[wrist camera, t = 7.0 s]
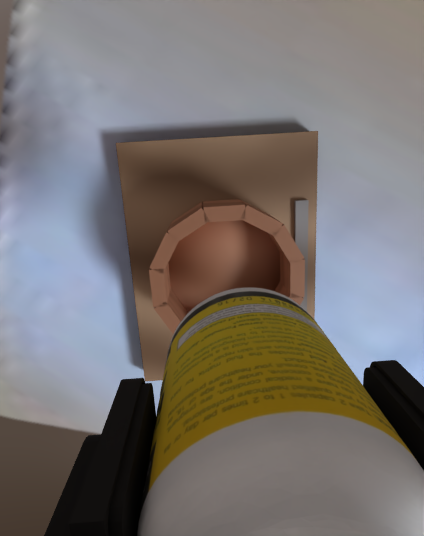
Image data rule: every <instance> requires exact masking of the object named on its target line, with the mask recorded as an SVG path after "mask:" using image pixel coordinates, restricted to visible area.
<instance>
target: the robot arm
mask: <svg viewBox="0 0 424 536" xmlns="http://www.w3.org/2000/svg"><path fill="white" fill-rule="evenodd" d="M363 387H364V388H365V390H366V391H367V392H368V394H369V395H370V397H371V398H372V399H373V401H374V402H375V403H376V405H377V406H378V407H379V409H380V410H381V412H382V413H383V415H384V416H385V417H386V419H387V420H388V421H389V423H390V424H391V425H392V427H393V428H394V430H395V431H396V432H397V434H398V435H399V437H400V438H401V439H402V441H403V442H404V443H405V445H406V446H407V447H408V449H409V450H410V451H411V453H412V454H413V456H414V457H415V459H416V460H417V462H418V463H419V465H420V466H421V467H422V469H423V470H424V387H423V386H422V385H421V384H420V383H419V382H418V381H417V380H416V379H415V378H414V377H413V376H412V375H411V374H410V373H409V372H408V371H407V370H406V369H405V368H404V367H403V366H402V365H401V364H399V363H398V362H397V361H396V360H390V361H375V362H372V363H371V365H370V368H366V369H365V370H364V381H363ZM155 423H156V411H155V403H154V394H153V386H152V383H146V384H145V381H144V378H136V379H123V380H121V382H120V385H119V388H118V390H117V393H116V396H115V398H114V401H113V404H112V407H111V409H110V412H109V415H108V418H107V420H106V423H105V426H104V428H103V431H102V434H101V435H89V436H88V437H86V439H85V441H84V442H83V445H82V447H81V450H80V452H79V454H78V457H77V459H76V461H75V464H74V466H73V469H72V471H71V473H70V476H69V478H68V480H67V483H66V485H65V488H64V490H63V492H62V495H61V497H60V499H59V502H58V504H57V507H56V509H55V511H54V514H53V516H52V518H51V521H50V523H49V526H48V528H47V530H46V533H45V535H44V536H137V530H138V522H139V516H140V507H141V501H142V496H143V491H144V486H145V482H146V475H147V469H148V464H149V458H150V452H151V446H152V440H153V434H154V429H155Z"/></svg>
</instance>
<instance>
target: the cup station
mask: <svg viewBox="0 0 424 536" xmlns="http://www.w3.org/2000/svg"><path fill="white" fill-rule="evenodd" d="M116 149H117V157H118V165H119V173H120V181H121V189H122V198H123V206H124V214H125V222H126V230H127V238H128V246H129V255H130V263H131V271H132V279H133V287H134V295H135V303H136V311H137V320H138V328H139V336H140V344H141V352H142V360H143V368H144V377H145V381H155V380H163V375H164V370H165V364H166V359H167V354H168V350H169V346H170V342H171V339H172V337H173V335H174V332H175V330H176V328H177V327H178V325H179V324H180V322H181V321H182V320H183V318H184V317H185V316H186V315H187V314H188V313H189V312H190V311H191V310H192V309H193V308H194V307H195V306H197V305H198V304H199V303H201V302H203V301H204V300H206V299H207V298H209V297H211V296H213V295H215V294H218V293H220V292H223V291H227V290H231V289H236V288H263V289H267V290H272V291H275V292H278V293H280V294H283V295H285V296H287V297H289V298H290V299H292V300H293V301H295V302H296V303H298V304H299V305H300V306H302V307H303V308H304V309H305V310H306V311H307V312H308V313H309V314H310V316H311V317H312V318H313V319H314V312H315V260H316V209H317V158H318V131H310V132H293V133H276V134H259V135H243V136H226V137H209V138H192V139H175V140H158V141H141V142H124V143H116Z"/></svg>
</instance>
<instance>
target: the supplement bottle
mask: <svg viewBox="0 0 424 536" xmlns="http://www.w3.org/2000/svg"><path fill="white" fill-rule="evenodd" d="M137 536H424V470H423V469H422V467H421V466H420V465H419V463H418V462H417V460H416V459H415V457H414V456H413V454H412V453H411V451H410V450H409V449H408V447H407V446H406V445H405V443H404V442H403V441H402V439H401V438H400V437H399V435H398V434H397V432H396V431H395V430H394V428H393V427H392V425H391V424H390V423H389V421H388V420H387V419H386V417H385V416H384V415H383V413H382V412H381V410H380V409H379V407H378V406H377V405H376V403H375V402H374V401H373V399H372V398H371V397H370V395H369V394H368V392H367V391H366V390H365V388H364V387H363V385H362V384H361V383H360V381H359V380H358V379H357V377H356V376H355V374H354V373H353V372H352V370H351V369H350V368H349V366H348V365H347V364H346V362H345V361H344V359H343V358H342V357H341V355H340V354H339V353H338V351H337V350H336V348H335V347H334V346H333V344H332V343H331V342H330V340H329V339H328V338H327V336H326V335H325V334H324V332H323V331H322V329H321V328H320V327H319V325H318V324H317V323H316V321H315V320H314V319H313V318H312V317H311V316H310V314H309V313H308V312H307V311H306V310H305V309H304V308H303V307H302V306H300V305H299V304H298V303H296V302H295V301H293V300H292V299H290V298H289V297H287V296H285V295H283V294H280V293H278V292H275V291H272V290H267V289H263V288H236V289H231V290H227V291H223V292H220V293H218V294H215V295H213V296H211V297H209V298H207V299H206V300H204V301H203V302H201V303H199V304H198V305H197V306H195V307H194V308H193V309H192V310H191V311H190V312H189V313H188V314H187V315H186V316H185V317H184V318H183V320H182V321H181V322H180V324H179V325H178V327H177V328H176V330H175V332H174V335H173V337H172V339H171V342H170V346H169V350H168V354H167V359H166V364H165V370H164V375H163V382H162V387H161V392H160V400H159V405H158V409H157V416H156V423H155V429H154V434H153V440H152V446H151V452H150V458H149V464H148V469H147V475H146V482H145V486H144V491H143V496H142V501H141V507H140V516H139V522H138V530H137Z"/></svg>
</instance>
